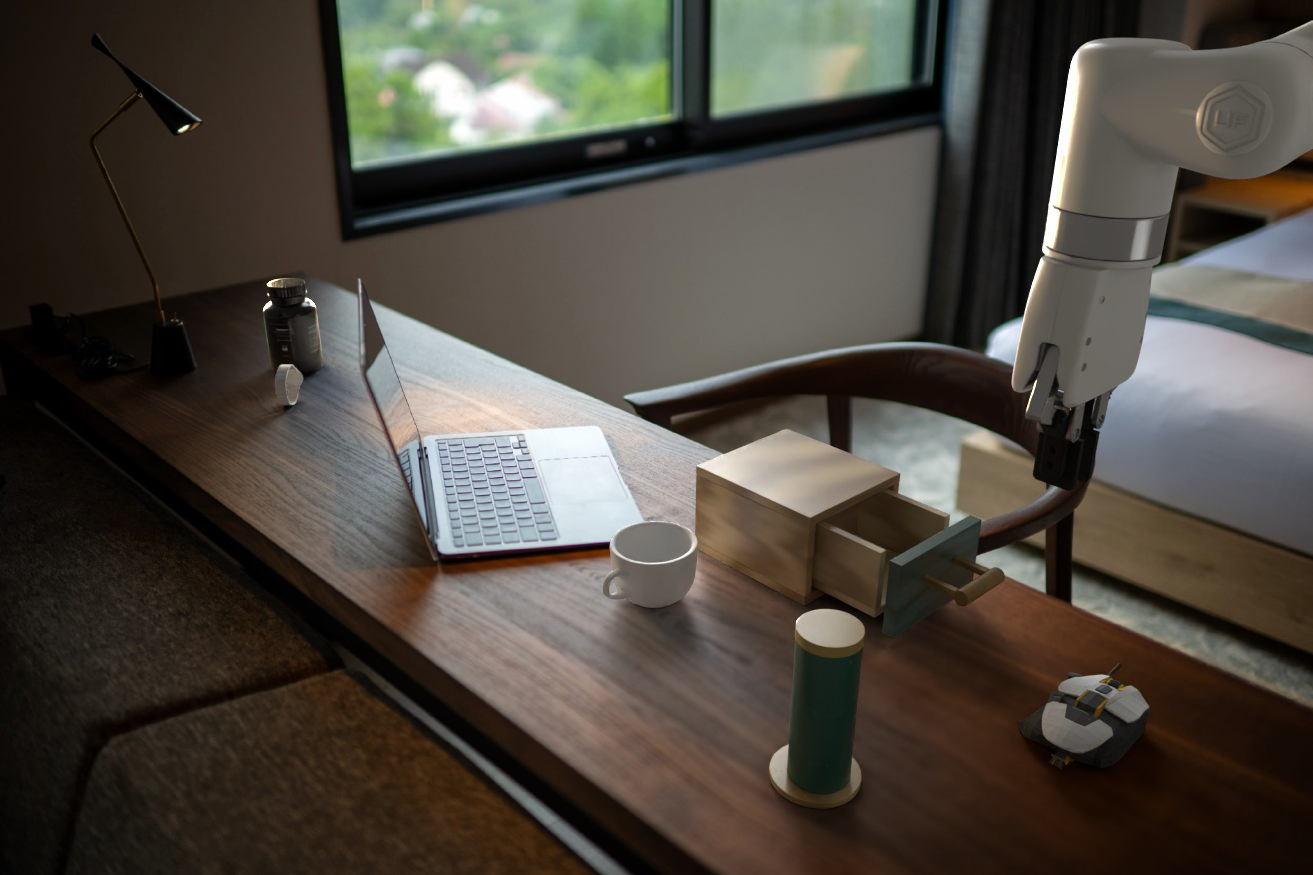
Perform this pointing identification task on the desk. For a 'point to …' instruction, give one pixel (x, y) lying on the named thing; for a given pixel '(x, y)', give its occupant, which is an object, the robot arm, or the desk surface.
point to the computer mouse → (1089, 720)
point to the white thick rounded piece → (287, 384)
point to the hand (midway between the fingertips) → (1061, 477)
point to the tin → (824, 700)
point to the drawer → (899, 559)
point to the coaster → (806, 798)
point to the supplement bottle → (292, 326)
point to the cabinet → (779, 506)
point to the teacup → (652, 563)
